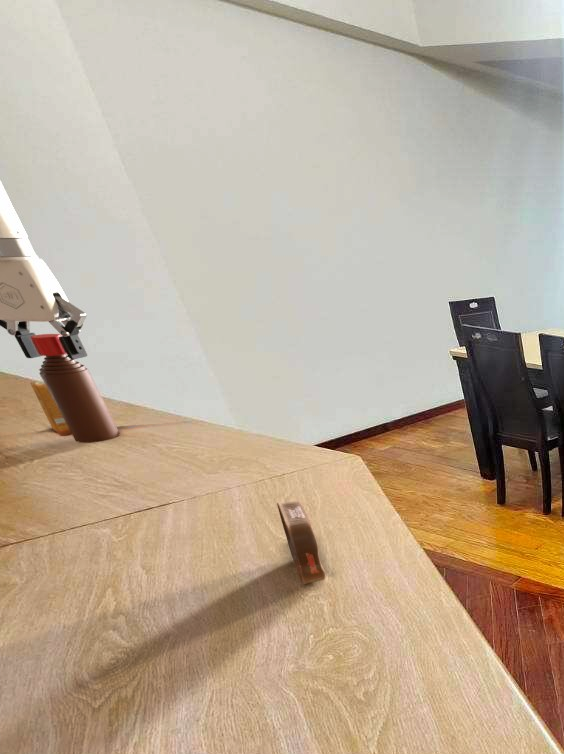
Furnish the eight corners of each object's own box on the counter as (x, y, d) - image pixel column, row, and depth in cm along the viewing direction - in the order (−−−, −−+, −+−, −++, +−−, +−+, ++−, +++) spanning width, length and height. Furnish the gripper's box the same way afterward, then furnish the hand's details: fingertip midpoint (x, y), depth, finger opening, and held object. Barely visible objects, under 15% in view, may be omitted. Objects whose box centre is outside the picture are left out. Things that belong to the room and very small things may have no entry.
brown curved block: (289, 549, 83) (268, 494, 79) (315, 542, 85) (296, 489, 81) (306, 596, 73) (283, 537, 69) (335, 588, 75) (314, 530, 71)
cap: (70, 350, 112) (61, 333, 110) (69, 354, 109) (60, 336, 108) (40, 352, 109) (30, 334, 108) (38, 356, 107) (28, 338, 105)
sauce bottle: (69, 443, 114) (14, 343, 104) (83, 433, 118) (31, 336, 109) (113, 440, 116) (63, 341, 107) (124, 430, 121) (78, 335, 112)
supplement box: (84, 432, 119) (57, 382, 114) (60, 436, 117) (32, 385, 112) (77, 429, 121) (51, 379, 116) (54, 433, 118) (26, 383, 113)
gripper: (-80, 248, 97) (-15, 360, 106) (38, 253, 98) (91, 362, 107) (-32, 246, 103) (25, 352, 112) (77, 250, 105) (125, 354, 114)
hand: (57, 356), depth 110 cm, fingers open, 6 cm apart
